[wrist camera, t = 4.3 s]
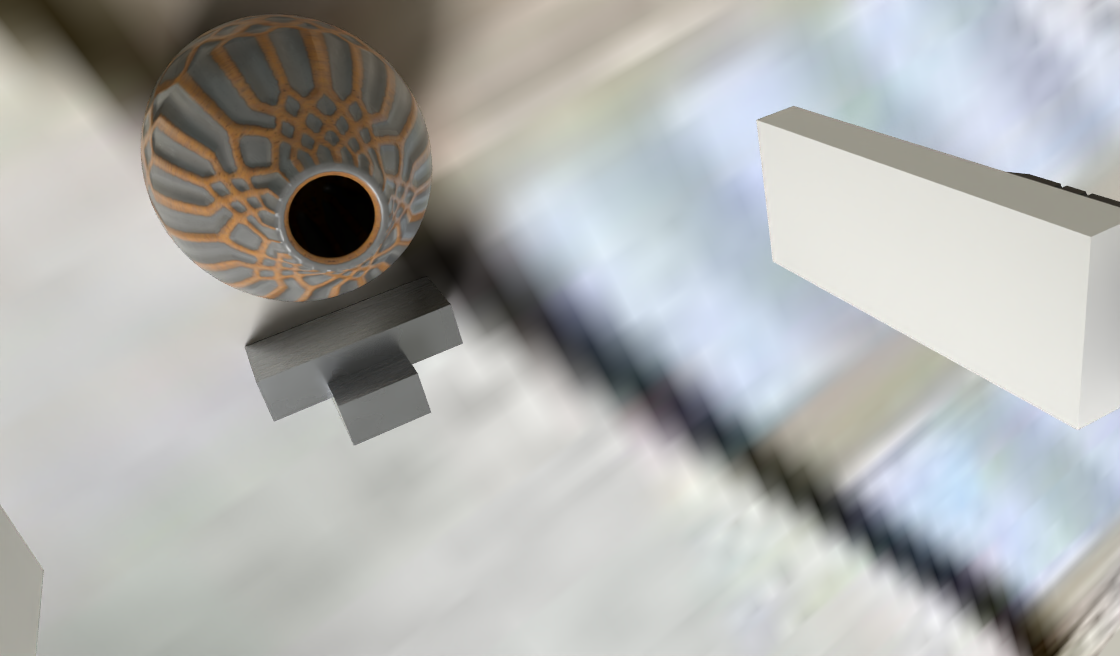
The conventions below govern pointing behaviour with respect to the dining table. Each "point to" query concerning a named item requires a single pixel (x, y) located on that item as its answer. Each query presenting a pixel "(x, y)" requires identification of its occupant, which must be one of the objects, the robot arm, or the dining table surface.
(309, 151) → the vase
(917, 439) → the dining table surface
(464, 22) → the dining table surface
